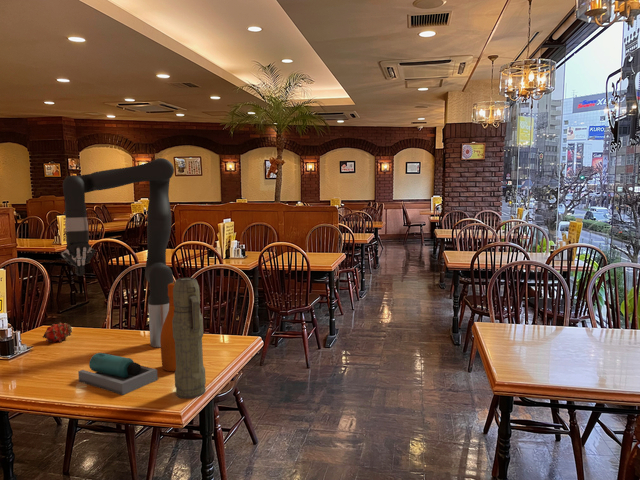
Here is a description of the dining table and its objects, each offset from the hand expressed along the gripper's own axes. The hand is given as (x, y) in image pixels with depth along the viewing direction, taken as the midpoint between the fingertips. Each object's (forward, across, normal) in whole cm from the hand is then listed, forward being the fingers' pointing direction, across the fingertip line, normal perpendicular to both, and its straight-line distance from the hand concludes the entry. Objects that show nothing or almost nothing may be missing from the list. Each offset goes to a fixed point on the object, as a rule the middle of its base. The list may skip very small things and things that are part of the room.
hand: (80, 275), depth 169 cm
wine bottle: (+31, -7, +41) cm, 52 cm away
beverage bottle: (+27, +10, +20) cm, 35 cm away
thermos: (+31, +6, +62) cm, 69 cm away
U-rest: (+31, +10, +33) cm, 47 cm away
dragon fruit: (+31, -6, -28) cm, 42 cm away
